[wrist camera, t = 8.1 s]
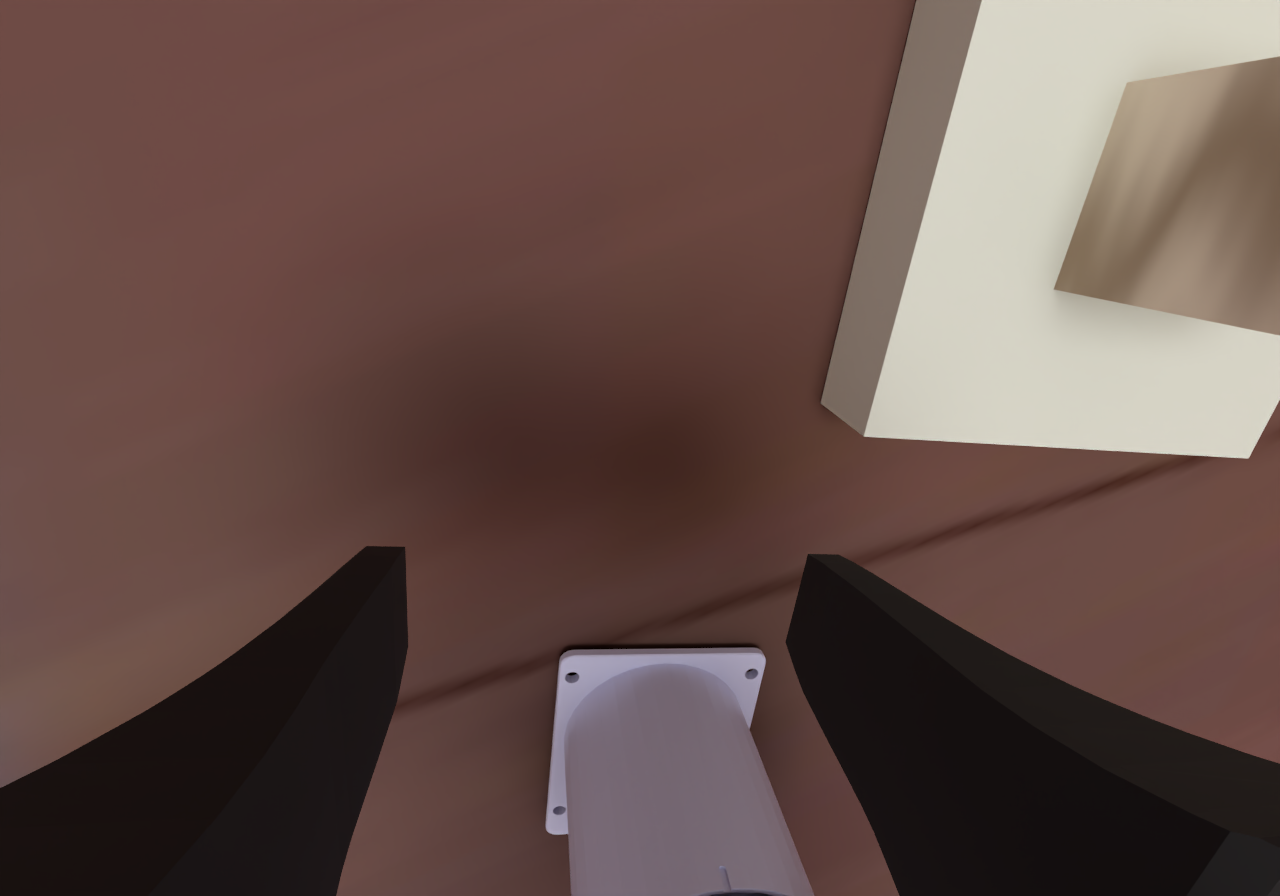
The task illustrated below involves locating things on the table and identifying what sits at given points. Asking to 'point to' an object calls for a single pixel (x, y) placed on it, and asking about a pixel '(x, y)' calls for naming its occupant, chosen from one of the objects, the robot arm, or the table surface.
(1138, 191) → the ash block
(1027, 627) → the table surface
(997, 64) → the base plinth
